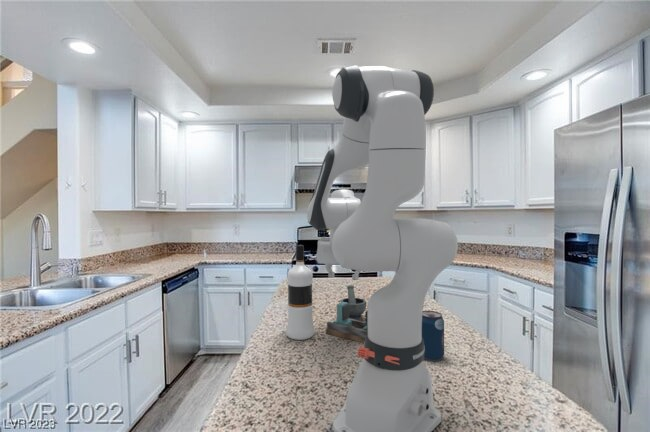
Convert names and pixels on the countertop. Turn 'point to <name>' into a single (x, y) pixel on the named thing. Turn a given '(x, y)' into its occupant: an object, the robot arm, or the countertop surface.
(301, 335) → the vodka
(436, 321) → the soda can
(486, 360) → the countertop surface
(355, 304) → the mortar and pestle
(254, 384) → the countertop surface
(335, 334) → the rail
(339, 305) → the teal t-block
